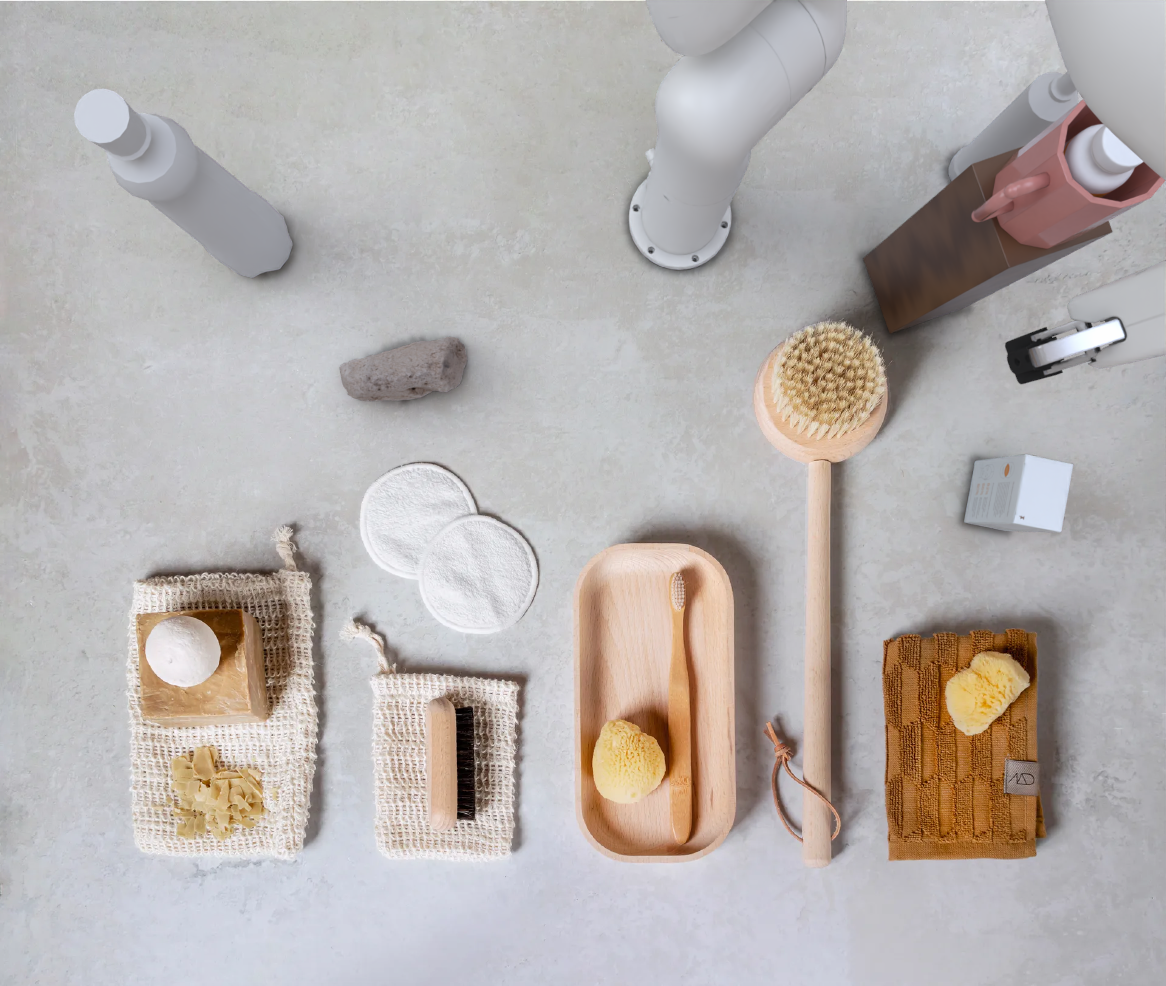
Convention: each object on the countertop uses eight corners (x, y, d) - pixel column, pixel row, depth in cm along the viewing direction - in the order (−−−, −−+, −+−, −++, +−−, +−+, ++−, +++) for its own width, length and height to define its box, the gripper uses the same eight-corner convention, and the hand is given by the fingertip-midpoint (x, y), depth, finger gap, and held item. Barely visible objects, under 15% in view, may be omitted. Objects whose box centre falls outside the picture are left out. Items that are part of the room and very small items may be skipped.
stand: (862, 258, 90) (971, 163, 65) (938, 232, 90) (1075, 127, 65) (889, 333, 90) (1009, 268, 65) (965, 307, 90) (1113, 231, 65)
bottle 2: (995, 164, 90) (1154, 34, 66) (973, 199, 90) (1124, 82, 65) (960, 142, 91) (1105, 4, 66) (938, 177, 90) (1075, 51, 65)
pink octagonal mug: (943, 179, 65) (1001, 127, 56) (1072, 134, 65) (1151, 75, 56) (976, 273, 65) (1040, 236, 56) (1106, 228, 65) (1190, 184, 56)
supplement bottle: (1086, 180, 65) (1176, 123, 55) (1061, 234, 65) (1146, 187, 55) (1031, 154, 65) (1111, 92, 55) (1006, 208, 65) (1082, 156, 55)
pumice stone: (466, 337, 90) (452, 316, 80) (471, 398, 90) (458, 385, 80) (344, 348, 90) (315, 329, 80) (349, 409, 90) (321, 397, 80)
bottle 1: (284, 199, 90) (137, 46, 60) (307, 268, 90) (171, 150, 60) (214, 222, 90) (31, 80, 60) (237, 291, 90) (65, 185, 60)
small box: (1005, 531, 90) (1062, 535, 79) (961, 522, 90) (1012, 524, 79) (1018, 468, 90) (1076, 463, 79) (973, 459, 90) (1026, 453, 79)
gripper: (1468, 125, 35) (1174, 251, 52) (1130, 243, 34) (947, 330, 52) (1523, 273, 35) (1210, 350, 52) (1184, 392, 34) (982, 430, 51)
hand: (1079, 340), depth 52 cm, fingers open, 9 cm apart
